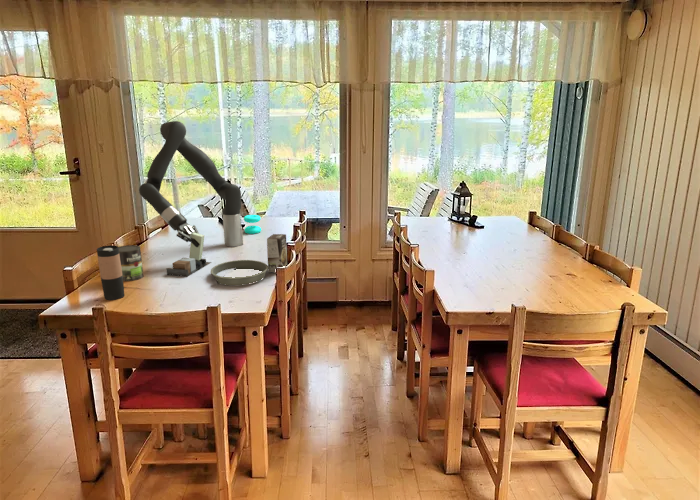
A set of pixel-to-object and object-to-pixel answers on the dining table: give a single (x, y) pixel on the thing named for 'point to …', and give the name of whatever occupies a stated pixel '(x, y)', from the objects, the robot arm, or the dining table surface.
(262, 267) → the cake pan
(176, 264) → the offcut
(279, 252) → the coffee box
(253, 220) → the donuts
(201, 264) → the rack
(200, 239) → the pale green block
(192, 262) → the offcut
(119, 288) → the travel mug
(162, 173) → the robot arm
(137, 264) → the coffee can
